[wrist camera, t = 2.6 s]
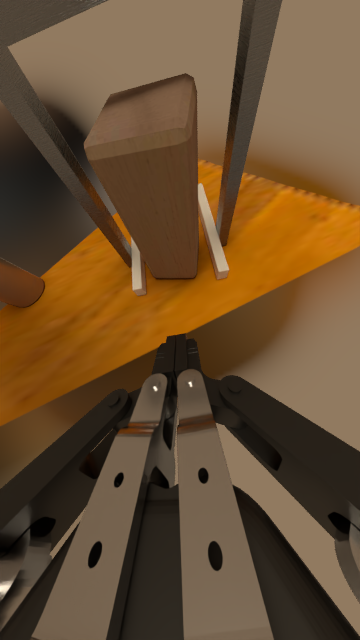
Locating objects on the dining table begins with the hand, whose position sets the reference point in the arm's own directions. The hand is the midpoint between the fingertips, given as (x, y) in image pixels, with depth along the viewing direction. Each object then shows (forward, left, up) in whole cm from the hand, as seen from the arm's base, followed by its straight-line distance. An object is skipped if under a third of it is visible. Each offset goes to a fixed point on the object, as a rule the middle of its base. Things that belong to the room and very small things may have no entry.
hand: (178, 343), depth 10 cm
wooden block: (0, +21, -14) cm, 26 cm away
